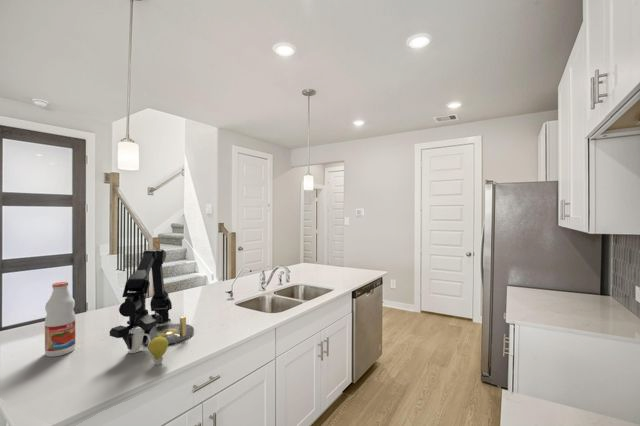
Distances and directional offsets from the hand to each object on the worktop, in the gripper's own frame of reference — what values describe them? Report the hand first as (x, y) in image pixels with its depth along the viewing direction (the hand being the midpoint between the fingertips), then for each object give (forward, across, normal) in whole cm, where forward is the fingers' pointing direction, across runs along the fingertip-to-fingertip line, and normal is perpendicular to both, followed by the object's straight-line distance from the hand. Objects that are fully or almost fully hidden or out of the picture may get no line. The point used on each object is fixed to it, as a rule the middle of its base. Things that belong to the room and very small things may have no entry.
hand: (137, 346), depth 122 cm
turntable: (+2, +16, +2) cm, 16 cm away
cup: (+2, 0, 0) cm, 2 cm away
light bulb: (+2, -3, -16) cm, 16 cm away
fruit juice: (+2, -13, +28) cm, 31 cm away
